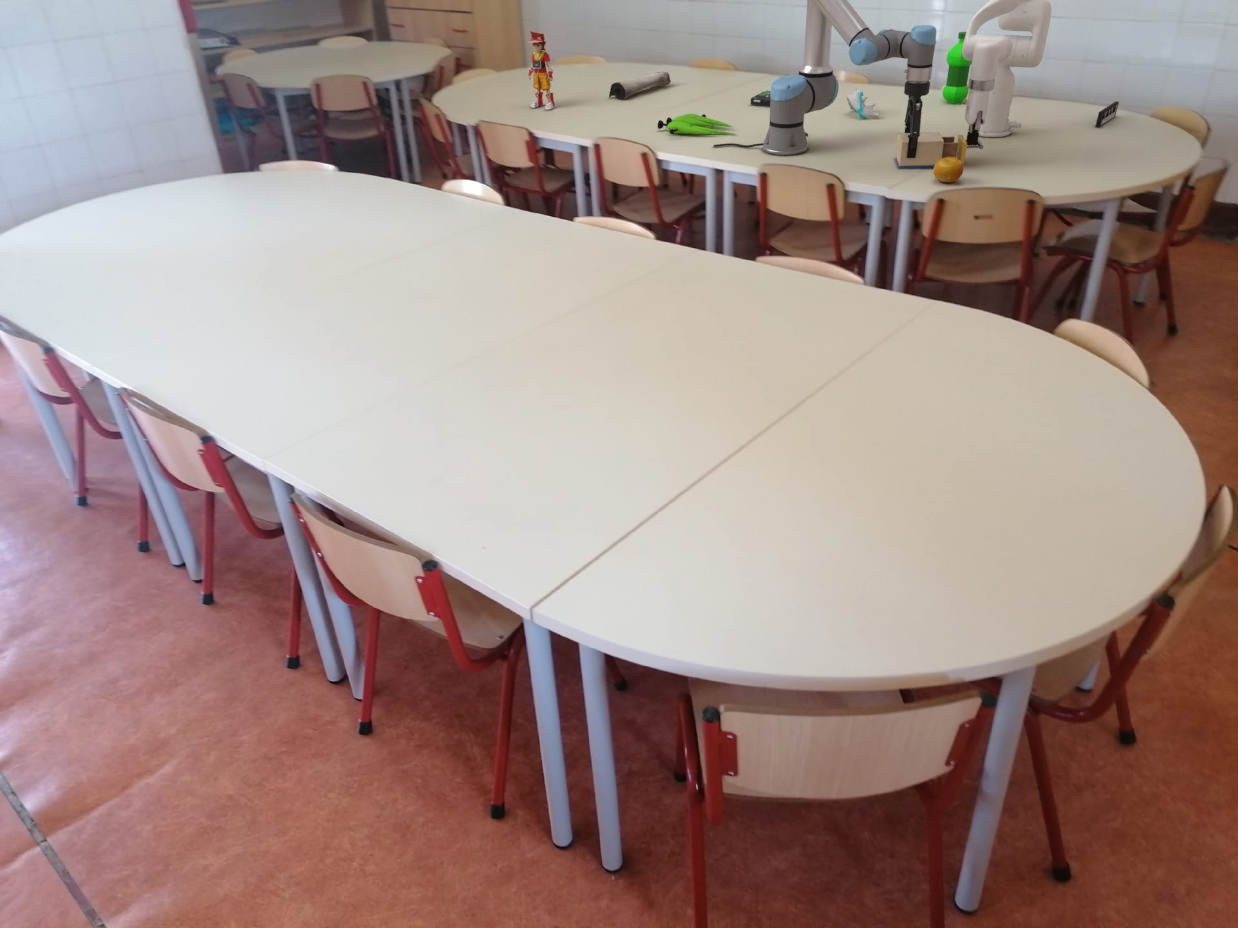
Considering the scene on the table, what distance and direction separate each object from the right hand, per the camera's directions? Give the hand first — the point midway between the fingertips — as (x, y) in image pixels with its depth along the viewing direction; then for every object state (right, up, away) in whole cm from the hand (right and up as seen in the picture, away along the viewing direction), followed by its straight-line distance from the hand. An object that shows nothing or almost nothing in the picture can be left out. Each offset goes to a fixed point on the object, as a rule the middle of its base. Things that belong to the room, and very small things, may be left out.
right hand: (971, 144), depth 288 cm
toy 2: (-83, +23, +51) cm, 100 cm away
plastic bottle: (+19, +41, +67) cm, 81 cm away
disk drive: (-51, +47, +82) cm, 108 cm away
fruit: (-12, -15, -11) cm, 22 cm away
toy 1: (-146, +50, +95) cm, 181 cm away
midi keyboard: (+61, +20, +34) cm, 73 cm away
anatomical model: (-20, +32, +58) cm, 69 cm away
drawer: (-5, -4, +3) cm, 7 cm away
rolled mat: (-104, +62, +109) cm, 163 cm away
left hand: (-19, -1, +4) cm, 19 cm away
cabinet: (-15, -4, +5) cm, 17 cm away
